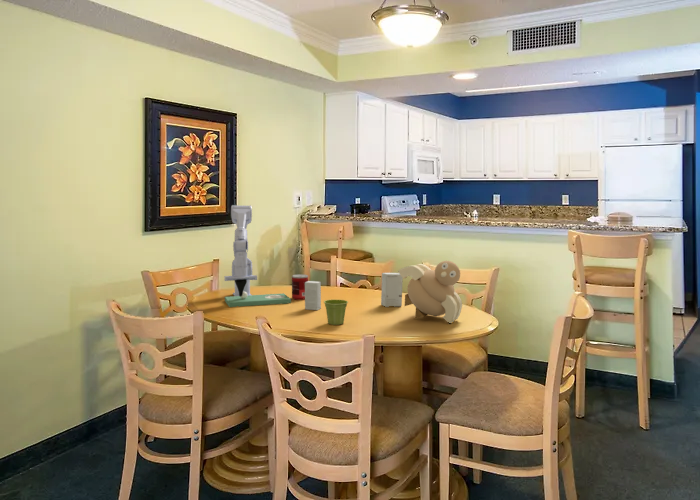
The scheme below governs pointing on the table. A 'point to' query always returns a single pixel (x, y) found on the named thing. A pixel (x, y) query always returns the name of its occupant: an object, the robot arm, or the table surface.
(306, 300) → the skincare box
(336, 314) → the plant pot
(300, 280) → the canned food
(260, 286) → the table surface
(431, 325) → the table surface
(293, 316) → the table surface
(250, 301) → the green
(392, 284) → the skincare box
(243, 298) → the ball
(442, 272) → the chick figurine
